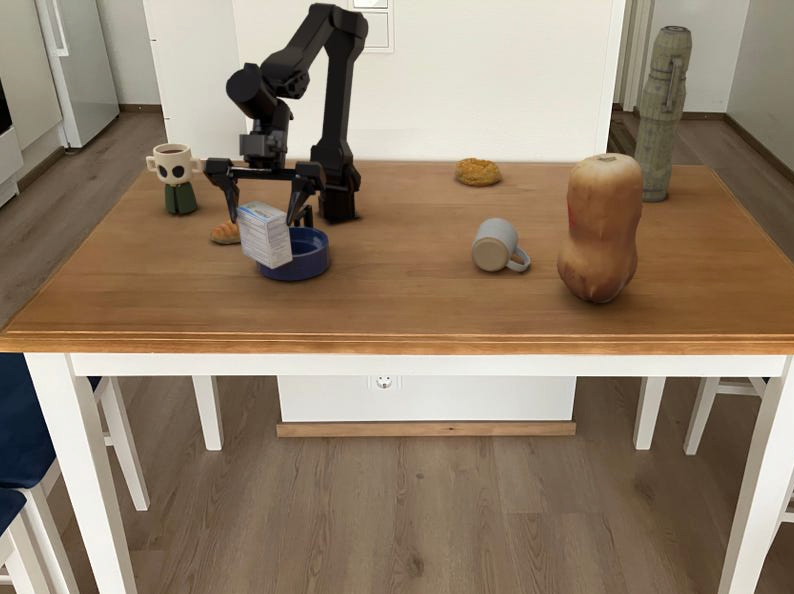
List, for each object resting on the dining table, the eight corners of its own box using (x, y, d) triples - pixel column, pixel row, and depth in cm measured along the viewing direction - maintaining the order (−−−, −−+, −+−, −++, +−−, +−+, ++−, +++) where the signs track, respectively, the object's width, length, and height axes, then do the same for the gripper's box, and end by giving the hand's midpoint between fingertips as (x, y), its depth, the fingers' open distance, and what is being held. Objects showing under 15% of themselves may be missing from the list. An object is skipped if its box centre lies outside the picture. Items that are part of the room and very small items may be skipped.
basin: (312, 245, 148) (310, 220, 146) (341, 272, 139) (340, 247, 136) (247, 259, 143) (243, 234, 140) (272, 289, 133) (269, 263, 131)
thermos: (655, 183, 180) (684, 22, 160) (675, 203, 170) (709, 34, 151) (618, 184, 179) (644, 22, 159) (636, 204, 169) (665, 34, 150)
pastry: (220, 249, 146) (217, 230, 143) (205, 237, 150) (202, 219, 148) (265, 237, 151) (263, 218, 148) (249, 225, 155) (247, 207, 153)
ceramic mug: (468, 271, 141) (470, 232, 136) (476, 252, 147) (479, 214, 143) (526, 279, 139) (530, 240, 135) (532, 259, 146) (536, 221, 141)
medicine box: (293, 261, 128) (288, 212, 123) (271, 270, 125) (265, 221, 120) (263, 246, 132) (257, 198, 127) (242, 255, 130) (235, 206, 125)
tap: (305, 242, 149) (301, 200, 144) (322, 244, 149) (319, 202, 144) (289, 259, 143) (285, 215, 138) (308, 261, 143) (304, 218, 138)
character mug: (150, 216, 157) (137, 153, 150) (160, 202, 163) (149, 141, 156) (204, 217, 158) (194, 155, 150) (212, 203, 163) (203, 143, 156)
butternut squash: (550, 277, 140) (566, 140, 126) (624, 280, 140) (648, 143, 126) (557, 316, 128) (575, 170, 114) (638, 319, 128) (666, 174, 114)
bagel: (502, 188, 175) (503, 168, 172) (453, 187, 175) (454, 166, 172) (500, 172, 183) (501, 153, 181) (454, 171, 183) (454, 151, 181)
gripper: (196, 106, 119) (185, 202, 116) (317, 111, 118) (308, 208, 116) (219, 140, 130) (209, 228, 127) (329, 144, 129) (322, 233, 127)
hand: (260, 224), depth 124 cm, fingers closed on medicine box, 8 cm apart
